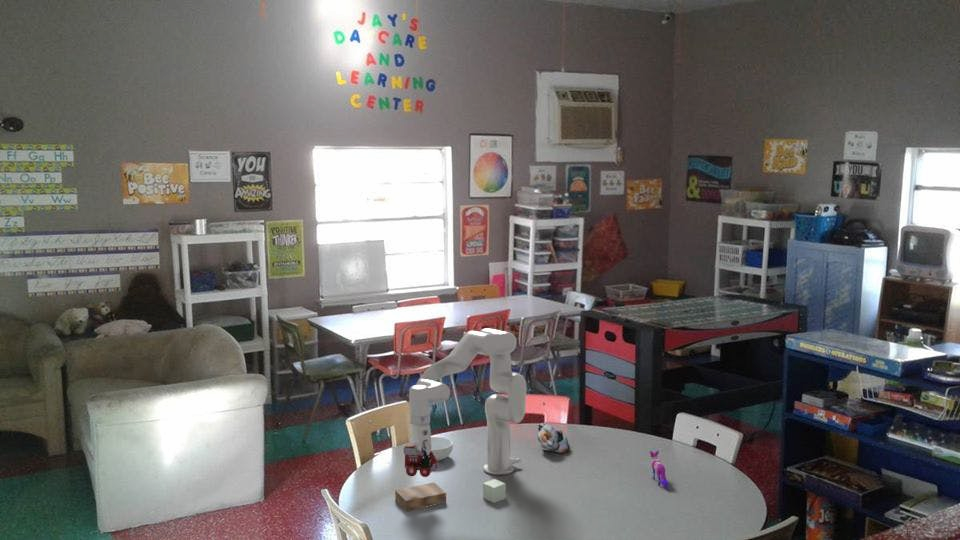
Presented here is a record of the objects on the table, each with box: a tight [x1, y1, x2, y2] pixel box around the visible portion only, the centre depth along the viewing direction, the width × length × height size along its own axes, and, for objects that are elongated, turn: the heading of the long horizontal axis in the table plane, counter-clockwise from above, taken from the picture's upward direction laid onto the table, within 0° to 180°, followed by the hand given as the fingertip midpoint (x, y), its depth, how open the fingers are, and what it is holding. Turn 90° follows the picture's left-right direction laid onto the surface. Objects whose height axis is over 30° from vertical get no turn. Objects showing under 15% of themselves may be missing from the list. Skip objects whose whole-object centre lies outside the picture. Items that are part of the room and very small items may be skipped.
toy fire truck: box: [403, 445, 438, 478], centre depth 296 cm, size 7×12×10 cm, turn 83°
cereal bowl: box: [423, 436, 454, 462], centre depth 341 cm, size 17×17×7 cm
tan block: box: [394, 482, 447, 512], centre depth 298 cm, size 16×11×4 cm
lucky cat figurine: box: [537, 422, 572, 454], centre depth 350 cm, size 15×12×14 cm
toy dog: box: [649, 450, 669, 488], centre depth 316 cm, size 4×18×10 cm, turn 6°
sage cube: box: [482, 478, 507, 504], centre depth 301 cm, size 6×6×6 cm
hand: (420, 463), depth 296 cm, fingers closed on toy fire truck, 8 cm apart
